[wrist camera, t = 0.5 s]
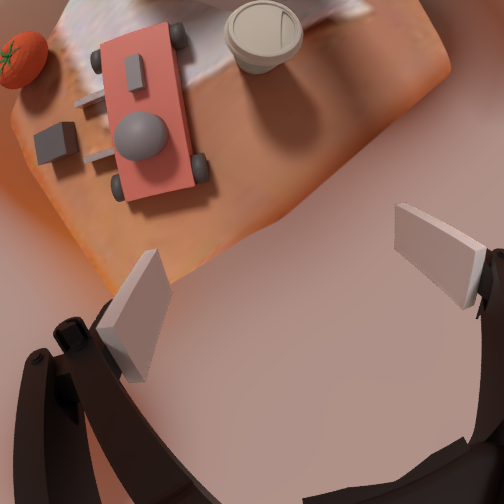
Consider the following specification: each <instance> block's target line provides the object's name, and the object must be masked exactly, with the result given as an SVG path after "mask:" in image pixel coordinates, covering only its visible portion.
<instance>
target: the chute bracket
mask: <svg viewBox="0 0 504 504" xmlns="http://www.w3.org/2000/svg"><path fill="white" fill-rule="evenodd" d="M103 100H105V92H104V89H103V90H100V91H98V92H95V93H93V94H91V95H88V96H86V97H84V98H81V99H79V100H77V101H75V102H74V106H75V108H80V109H83V108H85V107H88V106H90V105H93V104H95V103H97V102H100V101H103ZM112 155H115V153H114V148H113V147H112V148H109V149H106V150H103V151H100V152H97V153H94V154H92V155H89V156H86V157H84V158H83V160H84V164H87V163H91V162H94V161H97V160H100V159H103V158H106V157H109V156H112Z"/></svg>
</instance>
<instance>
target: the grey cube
mask: <svg viewBox="0 0 504 504" xmlns="http://www.w3.org/2000/svg"><path fill="white" fill-rule="evenodd" d="M34 141H35V148H36V154H37V160H38V165H42V164H46V163H51V162H53V161H56V160H58V159H61V158H63V157H65V156H68V155H70V154H73V153H76V152H78V151H79V150H78V144H77V138H76V132H75V125H74V122H60V123H58V124H56V125H53V126H51V127H49V128H47V129H45V130H43V131H41V132H39V133H38V134H36V135H34Z"/></svg>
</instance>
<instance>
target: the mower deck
mask: <svg viewBox="0 0 504 504" xmlns="http://www.w3.org/2000/svg"><path fill="white" fill-rule="evenodd" d="M183 47H187V41H186V35H185V30H184V26H183V24H182V22H181V23H177V24H173V25H169V23H168V21H167V22H164V23H160V24H156V25H153V26H150V27H146V28H143V29H140V30H137V31H134V32H131V33H128V34H126V35H123V36H120V37H118V38H115V39H112V40H110V41H107V42H105V43H103V44H100V49H99V50H96V51H94V52H92V54H91V57H90V60H91V66H92V68H93V70H94V72H95V73H96V74H101V73H102V75H103V84H104V92H105V100H106V107H107V114H108V120H109V126H110V132H111V137H112V143H113V148H114V153H115V158H116V163H117V167H118V172H119V174H116V175H114V176H113V177H112V179H111V190H112V193H113V196H114V198H115V199H116V201H118V202H121V201H124V200H125V201H126V202H128V201H132V200H136V199H140V198H144V197H148V196H152V195H156V194H161V193H165V192H170V191H174V190H179V189H184V188H188V187H193V186H195V185H196V184H199V183H204V182H209V171H208V165H207V161H206V157H205V154H204V153H200V154H196V155H193V150H192V145H191V140H190V134H189V129H188V123H187V117H186V111H185V106H184V100H183V93H182V87H181V81H180V75H179V68H178V61H177V55H176V49H179V48H183Z"/></svg>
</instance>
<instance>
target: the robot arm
mask: <svg viewBox="0 0 504 504" xmlns="http://www.w3.org/2000/svg"><path fill="white" fill-rule="evenodd" d="M395 250H396V251H397V252H399V253H400V254H401V255H402V256H403V257H405V258H406V259H407V260H408V261H409V262H411V263H412V264H413V265H414V266H415V267H416V268H418V269H419V270H420V271H421V272H422V273H423V274H425V275H426V276H427V277H428V278H429V279H430V280H431V281H432V282H433V283H435V284H436V285H437V286H438V287H439V288H440V289H441V290H442V291H443V292H444V293H446V295H448V296H449V297H450V298H451V299H452V300H453V301H454V302H455V303H456V304H457V305H458V306H459V307H460V308H461V309H462V310H464V309H466V308H469V307H471V306H473V305H474V303H475V300H476V296H477V293H478V294H480V295H481V296H482V299H481V303H480V306H479V310H478V313H477V317H476V319H478V317H479V316H480V315H481V332H482V358H481V380H480V392H479V402H478V409H477V417H476V424H475V428H474V432H473V435H472V437H471V439H470V441H469V443H468V444H467V443H466V440H465V439H464V437H462V438H460V439H458V440H457V441H455V442H453V443H452V444H450V445H448V446H446V447H444V448H443V449H441V450H439V451H437V452H435V453H433V454H431V455H430V456H429V457H428V458H426V459H425V460H424V461H423V462H421V463H420V464H419V465H418V466H416V467H415V468H414V469H412V470H411V471H410V472H408V473H407V474H406V475H404V476H403V477H401V478H400V479H398V480H396V481H394V482H389V483H383V484H376V485H368V486H360V487H348V488H345V489H341V490H337V491H333V492H329V493H325V494H321V495H316V496H312V497H307V498H303V499H302V500H303V504H504V249H494V250H493V251H490V250H489V249H487V247H485V246H484V245H482V244H480V243H479V242H477V241H475V240H473V239H472V238H470V237H469V236H467V235H465V234H464V233H462V232H460V231H458V230H457V229H455V228H453V227H451V226H450V225H448V224H446V223H444V222H442V221H440V220H438V219H437V218H435V217H433V216H431V215H429V214H427V213H425V212H423V211H421V210H419V209H417V208H415V207H413V206H411V205H409V204H407V203H400V204H395ZM171 296H172V290H171V287H170V284H169V281H168V278H167V275H166V273H165V270H164V267H163V264H162V261H161V258H160V254H159V251H158V248H157V249H152V250H148V251H144V253H143V254H142V256H141V257H140V259H139V260H138V262H137V263H136V265H135V266H134V268H133V269H132V271H131V272H130V274H129V275H128V277H127V278H126V280H125V281H124V283H123V285H122V286H121V288H120V289H119V291H118V292H117V294H116V296H115V297H114V299H111V300H110V301H109V302H108V303H106V304H105V305H104V306H103V308H102V309H101V311H100V312H99V314H98V316H97V317H96V320H95V321H94V322H93V324H92V325H91V327H90V329H89V330H88V329H87V327H86V325H85V323H84V321H83V320H82V319H81V318H80V317H73V318H69V319H67V320H65V321H63V322H62V323H60V324H59V325H58V326H57V327H56V328H55V331H54V332H53V336H54V338H55V339H56V341H57V343H58V345H59V346H60V348H61V349H62V351H63V352H64V354H62V355H59V356H56V357H53V356H52V355H51V353H50V352H49V350H48V349H47V348H41V349H38V350H36V351H33V353H31V354H30V355H29V357H28V358H27V360H26V362H25V366H24V370H23V376H22V381H21V386H20V392H19V398H18V405H17V413H16V422H15V433H14V451H13V482H14V497H15V504H102V503H101V500H100V496H99V492H98V488H97V484H96V480H95V476H94V471H93V466H92V461H91V456H90V451H89V445H88V439H87V432H86V424H85V416H84V411H85V413H86V416H87V418H88V420H89V423H90V425H91V427H92V429H93V432H94V434H95V436H96V438H97V440H98V442H99V444H100V446H101V448H102V450H103V452H104V454H105V456H106V457H107V459H108V461H109V463H110V465H111V466H112V468H113V470H114V472H115V473H116V475H117V477H118V479H119V480H120V482H121V483H122V485H123V487H124V488H125V490H126V491H127V493H128V494H129V496H130V497H131V499H132V500H133V502H134V503H135V504H221V503H220V502H219V501H218V500H217V499H216V498H215V497H214V496H213V495H212V494H211V493H210V492H209V491H208V490H207V489H206V488H205V487H204V486H202V484H201V483H200V482H199V481H198V480H196V478H195V477H194V476H193V475H192V474H191V473H190V472H189V471H188V470H187V469H186V468H185V467H184V465H183V464H182V463H181V462H180V461H179V460H178V459H177V458H176V456H175V455H174V454H173V453H172V452H171V450H170V449H169V448H168V447H167V446H166V444H165V443H164V442H163V441H162V440H161V438H160V437H159V436H158V434H157V433H156V432H155V431H154V429H153V428H152V427H151V425H150V424H149V423H148V421H147V420H146V419H145V417H144V416H143V415H142V413H141V412H140V411H139V409H138V407H137V406H136V405H135V403H134V402H133V400H132V399H131V397H130V396H129V394H128V393H127V391H126V390H125V388H124V387H123V385H122V384H121V382H120V381H119V379H120V377H121V373H122V374H123V375H124V377H125V378H126V380H127V381H128V382H129V383H137V382H146V378H147V375H148V371H149V368H150V364H151V361H152V357H153V353H154V350H155V346H156V343H157V340H158V337H159V334H160V330H161V327H162V324H163V321H164V318H165V315H166V311H167V308H168V305H169V302H170V299H171Z"/></svg>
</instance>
